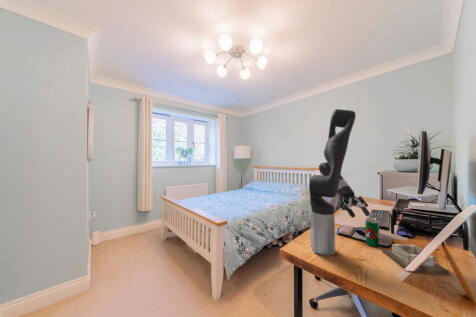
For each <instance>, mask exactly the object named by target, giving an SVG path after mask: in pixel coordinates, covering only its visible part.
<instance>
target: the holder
mask: <svg viewBox="0 0 476 317" xmlns="http://www.w3.org/2000/svg"><path fill="white" fill-rule="evenodd" d="M423 250H424V249H423V248H421V247H420V246H418V245H416V244H399V243H397V244H396V243H395V244H394V243H391V249H382V253H383V254H384V255H385V256H386V257H388V258H389V259H391V260H392V261H393V262H394V263H396V265H398V266H399V267H400V268H402V269H403V270H404V268H406V267H407V266H408V265H409V264H410V263H411V262H412V261H413V260H414V259H415V258H416V257H417V256H418V255H419V254H420V253H421V252H422V251H423ZM436 258H437V257H436V256H435V255H433V254H431V253H430V255H429V256H428V258H427V259H426V260H425V261H424V262H423V263H422V264H421V265H420V266H419V267H418V268H417V269H416V270H415V271H413V272H412V273H421V274H422V273H425V274H435V275H436V274H439V275H450V270H448V269H446V268H445V267H444V266H441V264H439V263H437V261H436Z"/></svg>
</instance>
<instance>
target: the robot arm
mask: <svg viewBox="0 0 476 317" xmlns="http://www.w3.org/2000/svg"><path fill="white" fill-rule="evenodd" d="M356 115H357V114H356V112H355V111H353V110H349V109H339V108H338V109H334V110H333V112H332V114H331V117H330V122H329V123H330V124H329V130H328V140H327V141H326V145H325V148H324V150H323V155H324V159H325V160H326V162H321V163H320V164H319V165H318V170H319V172H320V173H321V174H322V175H321V174H320V175H318V174H317V175H315V174H314V175H312V176H311V177H310V179H309V184H308V187H309V188H308V189H309V190H308V191H309V201H310V207H311V226H310V247H311V249H312V251H313V253H314V254H319V255H322V256H326V257H328V256H331V257H332V256H334V255H335V254H336V228H335V227H336V221H335V220H336V218H335V217H336V214H335V207H334V205H333V204H331V203H329V202H328V201H326V200H325V199H324V198H330V199H331V198H335V197H336V196H338V197H339V198H338V199H337V203H338V205H339V206H340V209H341V210H342V211H346V212H347V213H348V214H349V216H350V217H351V218H352V219H353V218H355V217H356V214H355V213H354V211H353V209H352V207H356V208H359V209H360V210H361V211H362V212H363V215H365V217H369V216H370V215H371V213H370V211H369V210H368V209H367V208H368V207H369V205H368V203H367V201H366V200H365V199H364V198H363V196H358V197H357V196H356V195H355V192H354V190H353V189H352V188H351V186H350V184H348V182H347V181H346V179H344V177H343V176H342V174H341V173H342V168H343V163H344V161H345V156H346V154H347V150H348V145H349V142H350V141H349V140H350V136H351V132H352V131H353V126H354V124H355V122H356V121H355V120H356ZM337 128H341V130H340V131H339V132H337V133H336V129H337Z"/></svg>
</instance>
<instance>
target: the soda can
mask: <svg viewBox="0 0 476 317" xmlns="http://www.w3.org/2000/svg"><path fill="white" fill-rule="evenodd" d="M364 222H365V243H366V244H367V246H369V247H374V248H378V247H379V246H380V222H379V220H378V219H377V218H374V217H366V219H365V221H364Z"/></svg>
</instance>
